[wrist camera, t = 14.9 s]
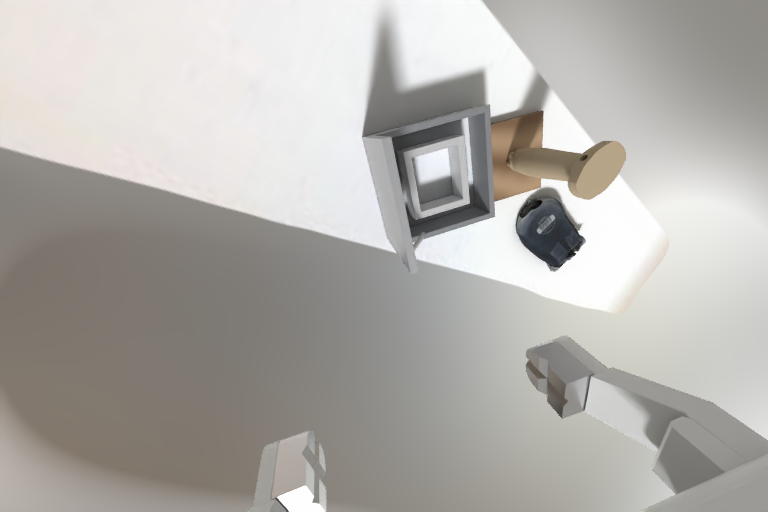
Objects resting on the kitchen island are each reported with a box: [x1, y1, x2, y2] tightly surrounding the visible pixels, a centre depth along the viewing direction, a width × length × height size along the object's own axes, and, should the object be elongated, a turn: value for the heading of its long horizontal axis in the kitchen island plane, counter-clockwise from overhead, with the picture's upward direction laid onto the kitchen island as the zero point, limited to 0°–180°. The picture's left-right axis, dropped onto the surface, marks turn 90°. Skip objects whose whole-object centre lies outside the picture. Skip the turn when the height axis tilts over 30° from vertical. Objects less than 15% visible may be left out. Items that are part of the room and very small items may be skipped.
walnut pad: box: [491, 111, 543, 202], centre depth 44 cm, size 12×10×1 cm
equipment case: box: [362, 105, 495, 274], centre depth 37 cm, size 16×17×13 cm
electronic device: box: [516, 197, 586, 272], centre depth 51 cm, size 9×6×15 cm
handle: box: [506, 141, 626, 200], centre depth 37 cm, size 5×6×15 cm
